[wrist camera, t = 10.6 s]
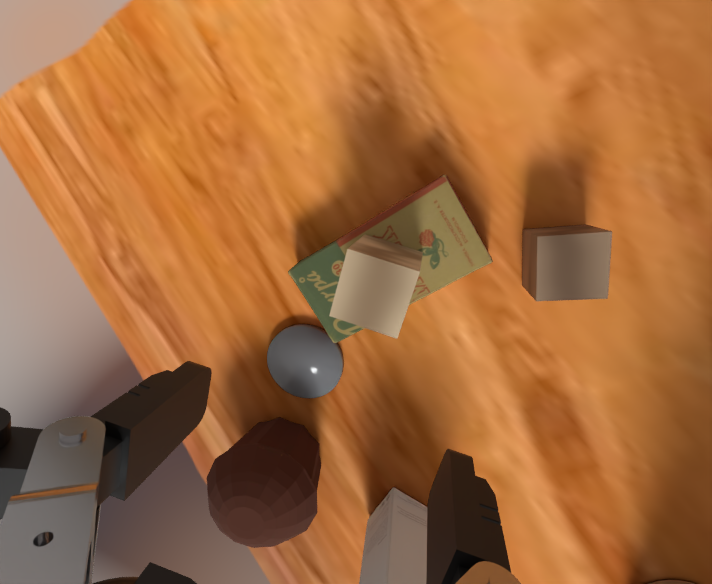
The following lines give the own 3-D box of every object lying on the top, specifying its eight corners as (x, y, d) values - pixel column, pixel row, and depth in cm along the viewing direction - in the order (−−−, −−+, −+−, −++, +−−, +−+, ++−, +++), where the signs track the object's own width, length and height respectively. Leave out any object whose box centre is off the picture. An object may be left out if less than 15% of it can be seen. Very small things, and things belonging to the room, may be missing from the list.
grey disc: (351, 337, 40) (350, 340, 39) (333, 404, 42) (332, 408, 41) (277, 314, 40) (274, 316, 40) (264, 380, 43) (261, 384, 42)
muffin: (279, 507, 47) (240, 589, 38) (218, 439, 46) (163, 505, 37) (354, 464, 44) (333, 542, 34) (290, 388, 42) (250, 448, 33)
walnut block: (585, 224, 33) (612, 231, 28) (583, 282, 34) (607, 298, 29) (522, 229, 34) (537, 236, 29) (522, 285, 35) (536, 301, 30)
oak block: (422, 252, 32) (420, 271, 26) (404, 307, 34) (397, 338, 27) (364, 234, 33) (347, 248, 26) (349, 289, 34) (329, 315, 28)
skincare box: (367, 516, 45) (338, 668, 31) (395, 482, 43) (377, 626, 29) (430, 555, 45) (430, 726, 31) (460, 522, 43) (475, 688, 29)
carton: (488, 254, 36) (496, 264, 32) (342, 331, 40) (332, 348, 36) (444, 172, 34) (446, 171, 30) (298, 262, 39) (282, 271, 35)
